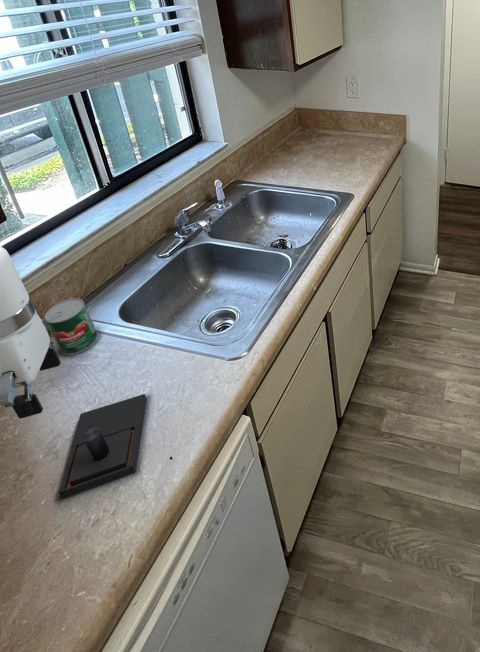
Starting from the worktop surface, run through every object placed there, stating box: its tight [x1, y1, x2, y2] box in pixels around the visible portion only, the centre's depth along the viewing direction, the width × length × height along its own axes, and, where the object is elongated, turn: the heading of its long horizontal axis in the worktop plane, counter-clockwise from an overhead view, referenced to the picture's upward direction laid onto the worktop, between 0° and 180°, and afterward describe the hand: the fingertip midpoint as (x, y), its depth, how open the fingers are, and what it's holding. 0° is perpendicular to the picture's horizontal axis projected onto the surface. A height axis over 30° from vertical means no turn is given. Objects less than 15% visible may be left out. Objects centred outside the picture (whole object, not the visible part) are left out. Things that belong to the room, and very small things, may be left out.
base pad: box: [57, 393, 148, 499], centre depth 87 cm, size 12×16×2 cm
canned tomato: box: [44, 297, 99, 356], centre depth 108 cm, size 8×8×11 cm
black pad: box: [69, 428, 133, 486], centre depth 83 cm, size 9×7×7 cm
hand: (41, 389), depth 77 cm, fingers open, 9 cm apart
